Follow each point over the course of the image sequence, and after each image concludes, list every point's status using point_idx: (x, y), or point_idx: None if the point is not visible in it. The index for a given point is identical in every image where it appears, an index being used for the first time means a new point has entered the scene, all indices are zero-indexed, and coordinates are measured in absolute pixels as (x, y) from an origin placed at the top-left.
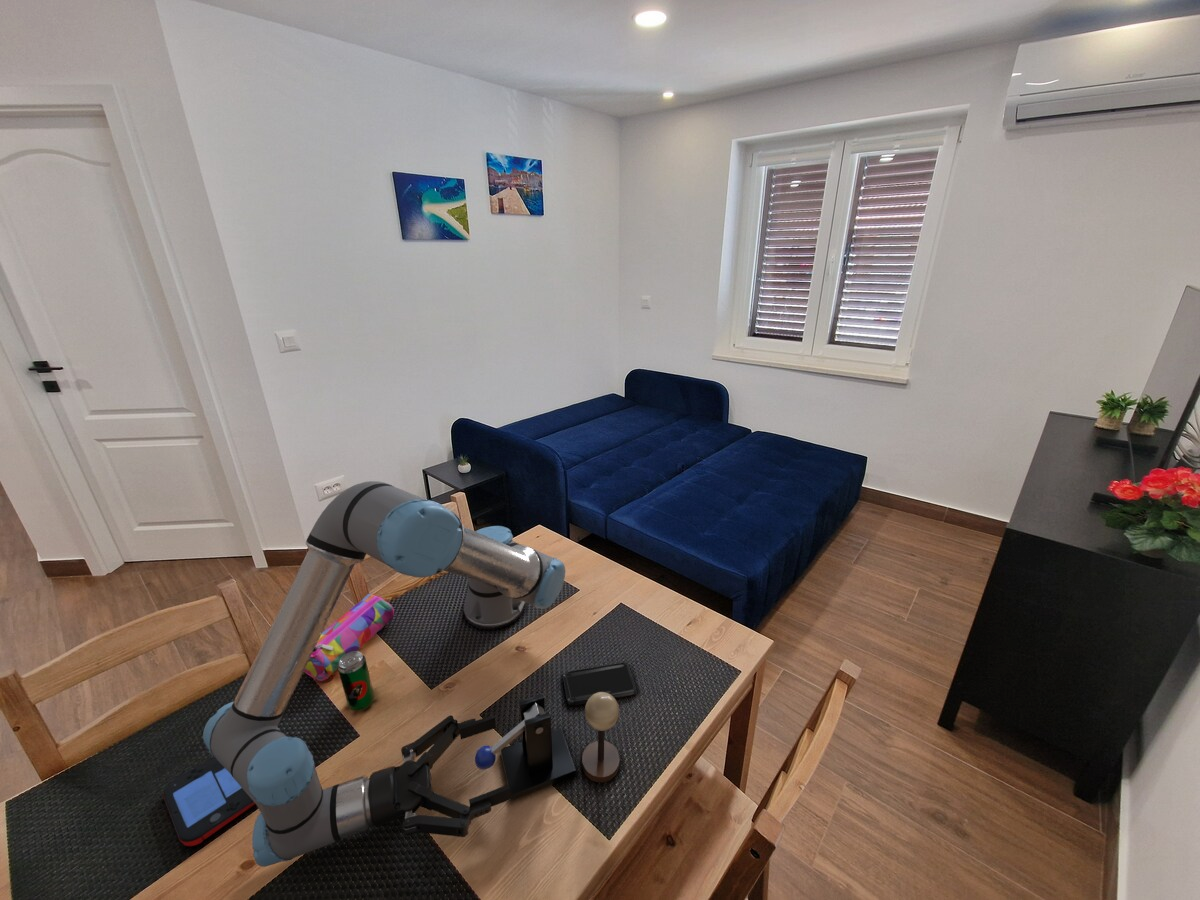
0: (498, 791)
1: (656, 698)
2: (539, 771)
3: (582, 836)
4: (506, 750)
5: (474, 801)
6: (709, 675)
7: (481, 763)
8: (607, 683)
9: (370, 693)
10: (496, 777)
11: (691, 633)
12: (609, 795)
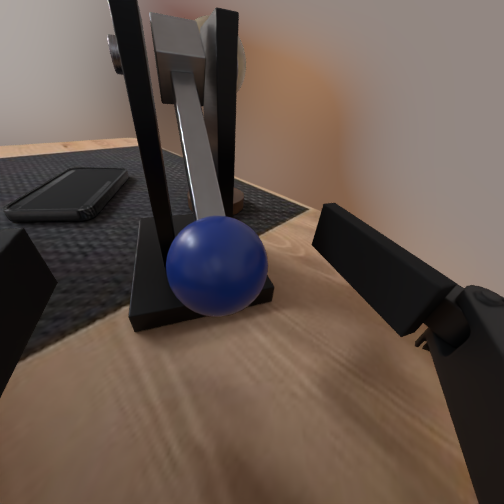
0: (355, 218)
1: None
2: None
3: (312, 224)
4: (144, 300)
5: (432, 268)
6: None
7: (264, 254)
8: (91, 181)
9: None
10: (207, 339)
11: (81, 147)
12: (259, 204)
